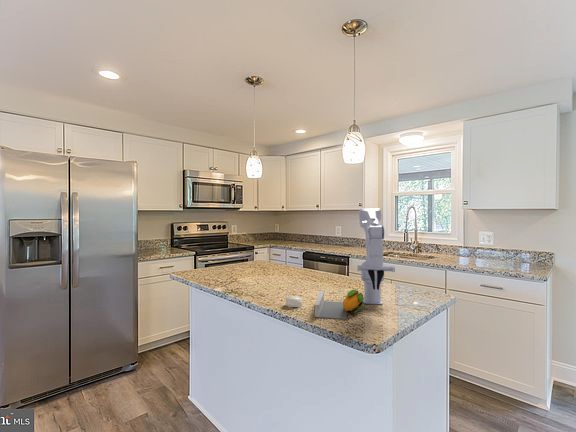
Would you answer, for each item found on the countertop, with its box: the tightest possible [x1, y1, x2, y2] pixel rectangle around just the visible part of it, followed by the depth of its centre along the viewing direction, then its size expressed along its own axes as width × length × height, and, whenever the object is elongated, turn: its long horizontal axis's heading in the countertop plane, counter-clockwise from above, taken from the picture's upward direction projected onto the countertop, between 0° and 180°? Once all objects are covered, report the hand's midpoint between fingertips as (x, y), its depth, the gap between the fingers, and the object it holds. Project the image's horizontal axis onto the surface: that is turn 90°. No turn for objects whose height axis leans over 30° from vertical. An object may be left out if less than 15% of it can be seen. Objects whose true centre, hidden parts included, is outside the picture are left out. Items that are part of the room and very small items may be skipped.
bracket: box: [314, 290, 348, 321], centre depth 126 cm, size 22×12×5 cm, turn 168°
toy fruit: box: [342, 289, 364, 313], centre depth 124 cm, size 7×8×20 cm
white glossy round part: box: [285, 295, 303, 308], centre depth 132 cm, size 7×7×4 cm
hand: (375, 289), depth 122 cm, fingers closed
